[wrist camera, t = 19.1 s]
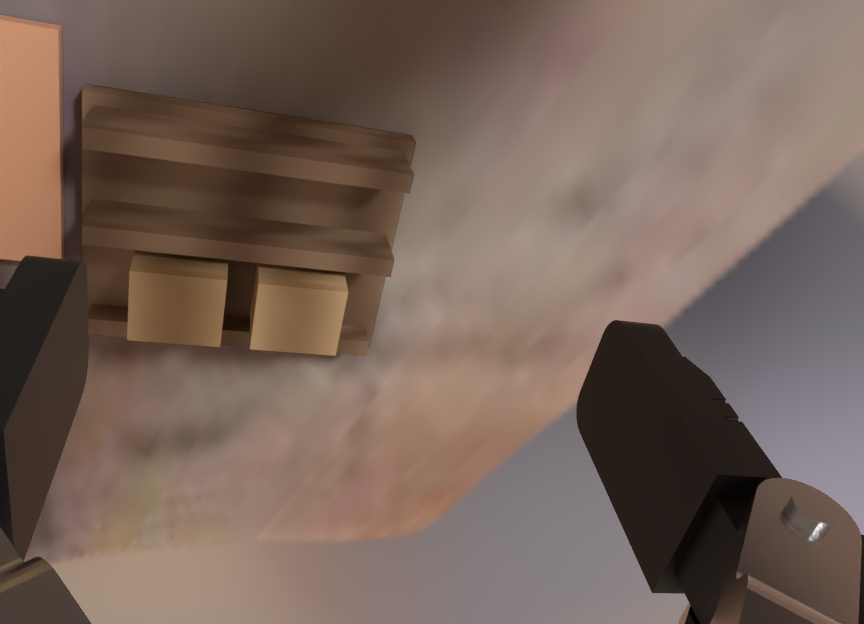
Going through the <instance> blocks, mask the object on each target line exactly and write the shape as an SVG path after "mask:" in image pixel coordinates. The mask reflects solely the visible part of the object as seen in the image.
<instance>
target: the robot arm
mask: <svg viewBox="0 0 864 624" xmlns="http://www.w3.org/2000/svg"><path fill="white" fill-rule="evenodd" d="M87 367H88V289H87V269H86V265H85V263H84V262H83V261H75V260H65V259H56V258H47V257H38V256H29V255H27V256H25V257H24V258H23V259H22V261H21V262H20V264H19V266H18V268H17V269H16V271H15V273H14V274H13V276H12V278H11V279H10V281H9V283H8V285H7V286H6V288H5V289H0V624H91V623H90V621H89V620H88V618H87V617H86V615H85V614H84V612H83V611H82V609H81V608H80V606H79V605H78V603H77V602H76V601H75V599H74V598H73V596H72V595H71V593H70V592H69V590H68V589H67V587H66V586H65V585H64V583H63V582H62V580H61V579H60V577H59V576H58V574H57V573H56V572H55V570H54V569H53V568H52V566H51V565H50V564H49V563H48V562H47V561H46V560H44V559H43V558H41V557H35V558H33V559H31V560H29V561H27V562H24V559H25V556H26V553H27V550H28V547H29V544H30V542H31V539H32V536H33V533H34V530H35V527H36V524H37V522H38V519H39V516H40V513H41V510H42V507H43V505H44V502H45V499H46V496H47V493H48V490H49V488H50V485H51V482H52V479H53V476H54V473H55V471H56V468H57V465H58V462H59V459H60V456H61V454H62V451H63V448H64V445H65V442H66V439H67V436H68V434H69V431H70V428H71V425H72V422H73V419H74V417H75V414H76V411H77V408H78V405H79V402H80V400H81V397H82V394H83V390H84V386H85V381H86V375H87ZM725 400H726V399H725V398H724V396H723V395H722V393H721V392H720V390H719V389H718V388H717V386H716V385H715V383H714V382H713V381H712V379H711V378H710V377H709V376H708V375H707V374H705V373H704V372H703V371H702V370H700V369H699V368H698V367H697V366H696V365H694V364H693V363H692V362H691V361H689V360H688V359H687V358H686V357H682V356H681V354H680V352H679V351H678V350H677V348H676V347H675V345H674V344H673V342H672V341H671V340H670V338H669V337H668V335H667V334H666V332H665V331H664V330H663V328H662V327H660V326H659V325H656V324H647V323H637V322H628V321H619V320H615V321H612V322H611V323H610V324H609V325H608V326H607V327H606V329H605V331H604V333H603V336H602V338H601V341H600V343H599V346H598V348H597V351H596V353H595V356H594V358H593V361H592V363H591V366H590V368H589V371H588V373H587V376H586V378H585V381H584V383H583V386H582V388H581V391H580V394H579V397H578V402H577V424H578V428H579V431H580V434H581V436H582V438H583V440H584V443H585V445H586V447H587V449H588V452H589V453H590V456H591V458H592V460H593V463H594V464H595V467H596V469H597V471H598V474H599V476H600V478H601V480H602V482H603V485H604V487H605V489H606V491H607V494H608V496H609V498H610V500H611V503H612V505H613V507H614V509H615V512H616V514H617V516H618V518H619V520H620V523H621V525H622V527H623V529H624V531H625V534H626V536H627V538H628V540H629V543H630V545H631V547H632V549H633V551H634V554H635V556H636V558H637V560H638V563H639V565H640V567H641V569H642V571H643V574H644V576H645V578H646V580H647V582H648V585H649V587H650V589H651V591H652V593H685V595H686V597H687V599H688V601H689V603H688V605H687V607H686V609H685V610H684V612H683V613H682V615H681V617H680V620H679V623H678V624H864V535H861V533H860V531H859V528H858V526H857V524H856V523H855V521H854V520H853V518H852V517H851V516H850V515H849V514H848V512H847V511H846V510H845V509H844V508H843V507H842V506H840V505H839V504H838V503H837V502H836V501H834V500H833V499H832V498H831V497H829V496H828V495H826V494H825V493H823V492H821V491H820V490H818V489H816V488H814V487H812V486H809V485H807V484H805V483H802V482H799V481H796V480H792V479H787V478H782V477H781V476H780V474H779V473H778V471H777V470H776V468H775V467H774V466H773V464H772V463H771V462H770V460H769V459H768V457H767V456H766V455H765V453H764V452H763V450H762V449H761V448H760V446H759V445H758V443H757V442H756V441H755V439H754V438H753V436H752V435H751V434H750V432H749V431H748V429H747V428H746V427H745V425H744V424H743V422H739V421H738V416H737V414H736V413H735V411H734V410H733V409H732V407H731V406H730V404H728V403H725Z"/></svg>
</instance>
